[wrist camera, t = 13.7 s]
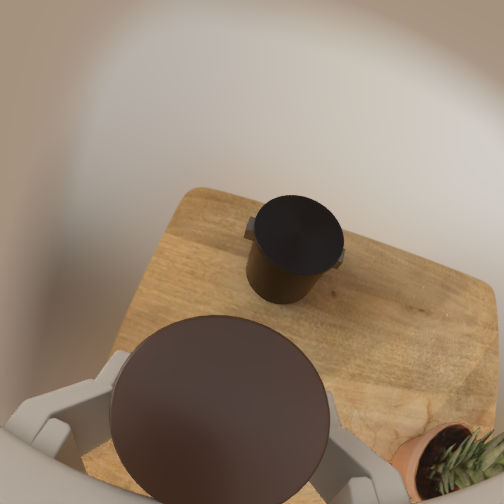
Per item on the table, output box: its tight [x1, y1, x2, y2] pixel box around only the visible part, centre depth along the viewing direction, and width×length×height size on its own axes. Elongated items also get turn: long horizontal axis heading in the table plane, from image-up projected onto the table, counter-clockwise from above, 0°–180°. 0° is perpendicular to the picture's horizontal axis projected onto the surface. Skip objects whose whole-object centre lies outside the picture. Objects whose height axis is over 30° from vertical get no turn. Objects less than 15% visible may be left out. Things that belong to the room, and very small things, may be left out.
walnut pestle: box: [109, 315, 330, 504], centre depth 8 cm, size 4×4×10 cm
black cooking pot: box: [244, 195, 345, 304], centre depth 31 cm, size 10×9×9 cm
